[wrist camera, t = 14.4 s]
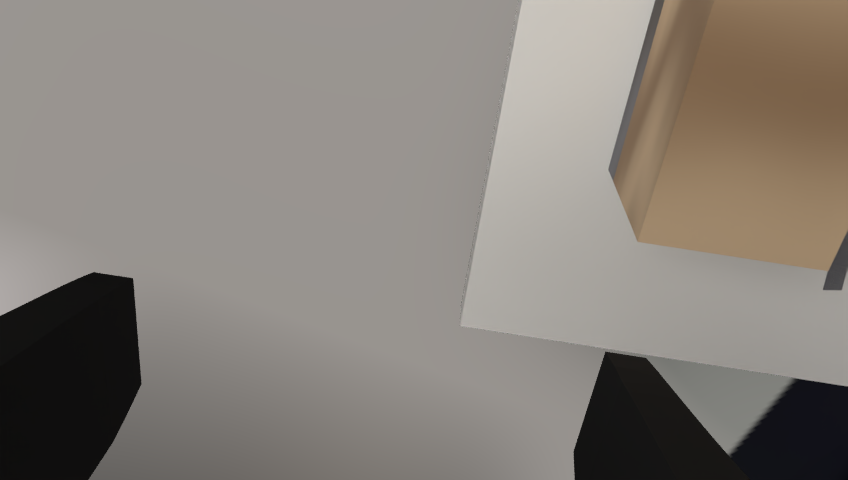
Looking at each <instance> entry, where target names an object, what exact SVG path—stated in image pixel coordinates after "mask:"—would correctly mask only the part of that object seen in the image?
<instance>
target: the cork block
mask: <svg viewBox="0 0 848 480" xmlns="http://www.w3.org/2000/svg"><path fill="white" fill-rule="evenodd" d="M608 170H609V173H610V175H611V178H612V180H613V182H614V185H615V187H616V190H617V192H618V195H619V197H620V200H621V202H622V205H623V207H624V210H625V212H626V214H627V217H628V219H629V222H630V224H631V227H632V229H633V232H634V234H635V237H636V239H637V242H642V243H648V244H655V245H661V246H668V247H674V248H681V249H687V250H694V251H700V252H707V253H713V254H720V255H726V256H733V257H739V258H746V259H752V260H759V261H765V262H772V263H778V264H785V265H791V266H798V267H804V268H811V269H817V270H824V271H829V269H830V266H831V264H832V262H833V260H834V258H835V256H836V254H837V252H838V250H839V248H840V245H841V243H842V241H843V239H844V237H845V235H846V233H847V231H848V0H655V3H654V6H653V10H652V13H651V17H650V21H649V24H648V28H647V31H646V35H645V39H644V42H643V46H642V49H641V53H640V57H639V60H638V64H637V67H636V71H635V75H634V78H633V82H632V85H631V89H630V93H629V96H628V100H627V103H626V107H625V111H624V114H623V118H622V121H621V125H620V129H619V132H618V136H617V139H616V143H615V147H614V150H613V154H612V157H611V161H610V164H609V168H608Z"/></svg>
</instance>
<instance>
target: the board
mask: <svg viewBox="0 0 848 480" xmlns="http://www.w3.org/2000/svg"><path fill="white" fill-rule="evenodd" d="M654 3H655V0H518V6H517V11H516V16H515V21H514V27H513V32H512V37H511V43H510V48H509V53H508V58H507V64H506V69H505V75H504V80H503V85H502V90H501V96H500V101H499V106H498V111H497V117H496V122H495V128H494V133H493V138H492V143H491V149H490V154H489V159H488V165H487V170H486V175H485V180H484V186H483V191H482V197H481V202H480V207H479V212H478V217H477V223H476V228H475V233H474V239H473V244H472V250H471V255H470V260H469V265H468V271H467V276H466V281H465V286H464V292H463V298H462V302H461V317H460V326H463V327H469V328H475V329H482V330H488V331H494V332H501V333H507V334H514V335H520V336H527V337H533V338H540V339H546V340H552V341H559V342H566V343H572V344H579V345H585V346H592V347H597V348H604V349H610V350H617V351H623V352H630V353H636V354H643V355H649V356H656V357H663V358H668V359H675V360H681V361H688V362H694V363H701V364H707V365H714V366H720V367H727V368H733V369H740V370H746V371H752V372H759V373H765V374H771V375H778V376H784V377H791V378H797V379H804V380H810V381H816V382H823V383H829V384H836V385H842V386H848V231H847V233H846V235H845V237H844V239H843V241H842V243H841V245H840V248H839V250H838V252H837V254H836V256H835V258H834V260H833V262H832V264H831V266H830V269H829V271H824V270H817V269H811V268H804V267H798V266H791V265H785V264H778V263H772V262H765V261H759V260H752V259H746V258H739V257H733V256H726V255H720V254H713V253H707V252H700V251H694V250H687V249H681V248H674V247H668V246H661V245H655V244H648V243H642V242H637V239H636V237H635V234H634V232H633V229H632V227H631V224H630V222H629V219H628V217H627V214H626V212H625V210H624V207H623V205H622V202H621V200H620V197H619V195H618V192H617V190H616V187H615V185H614V182H613V180H612V178H611V175H610V173H609V170H608V168H609V164H610V161H611V157H612V154H613V150H614V147H615V143H616V139H617V136H618V132H619V129H620V125H621V121H622V118H623V114H624V111H625V107H626V103H627V100H628V96H629V93H630V89H631V85H632V82H633V78H634V75H635V71H636V67H637V64H638V60H639V57H640V53H641V49H642V46H643V42H644V39H645V35H646V31H647V28H648V24H649V21H650V17H651V13H652V10H653V6H654Z"/></svg>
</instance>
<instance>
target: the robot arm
mask: <svg viewBox="0 0 848 480" xmlns="http://www.w3.org/2000/svg"><path fill="white" fill-rule="evenodd" d="M140 386H141V374H140V360H139V347H138V335H137V322H136V309H135V297H134V284H133V278H127V277H121V276H114V275H108V274H101V273H95V272H93V273H91V274H88V275H86V276H83V277H81V278H78V279H76V280H74V281H72V282H70V283H67V284H65V285H63V286H61V287H59V288H57V289H55V290H53V291H50V292H48V293H46V294H44V295H42V296H40V297H38V298H36V299H34V300H32V301H30V302H28V303H26V304H24V305H22V306H20V307H18V308H16V309H14V310H12V311H10V312H7V313H6V314H4V315H1V316H0V480H88V479H89V478H90V476H91V475H92V473H93V472H94V470H95V469H96V467H97V466H98V464H99V462H100V461H101V460H102V458H103V457H104V455H105V453H106V452H107V450H108V449H109V447H110V446H111V444H112V443H113V441H114V439H115V437H116V435H117V433H118V431H119V429H120V427H121V425H122V423H123V421H124V419H125V417H126V415H127V413H128V411H129V409H130V407H131V405H132V403H133V401H134V398H135V396H136V394H137V392H138V390H139V388H140ZM574 472H575V480H750V479H749V478H748V477H747V476H746V475H745V473H744V472H743V471H742V470H741V469H740V468H739V467H738V466H737V465H736V464H735V462H734V461H733V460H732V459H731V458H730V457H729V456H728V455H727V453H726V452H725V451H724V450H723V449H722V448H721V447H720V445H719V444H718V443H717V442H716V441H715V440H714V438H712V436H711V435H710V434H709V433H708V431H707V430H706V429H705V428H704V427H703V426H702V424H701V423H700V422H699V421H698V420H697V418H696V417H695V416H694V415H693V414H692V412H691V411H690V410H689V409H688V408H687V406H686V405H685V404H684V403H683V402H682V400H681V399H680V398H679V397H678V395H677V394H676V393H675V392H674V391H673V389H672V388H671V387H670V386H669V385H668V383H667V382H666V381H665V380H664V379H663V377H662V376H661V375H660V374H659V372H658V371H657V370H656V369H655V368H654V367H653V365H652V364H651V363H650V362H649V361H648V360H647V359H646V358H642V357H636V356H629V355H623V354H617V353H610V352H605V355H604V358H603V361H602V364H601V367H600V371H599V374H598V377H597V380H596V383H595V386H594V389H593V392H592V396H591V399H590V402H589V405H588V408H587V411H586V414H585V418H584V421H583V424H582V427H581V430H580V433H579V436H578V439H577V443H576V446H575V449H574Z"/></svg>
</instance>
